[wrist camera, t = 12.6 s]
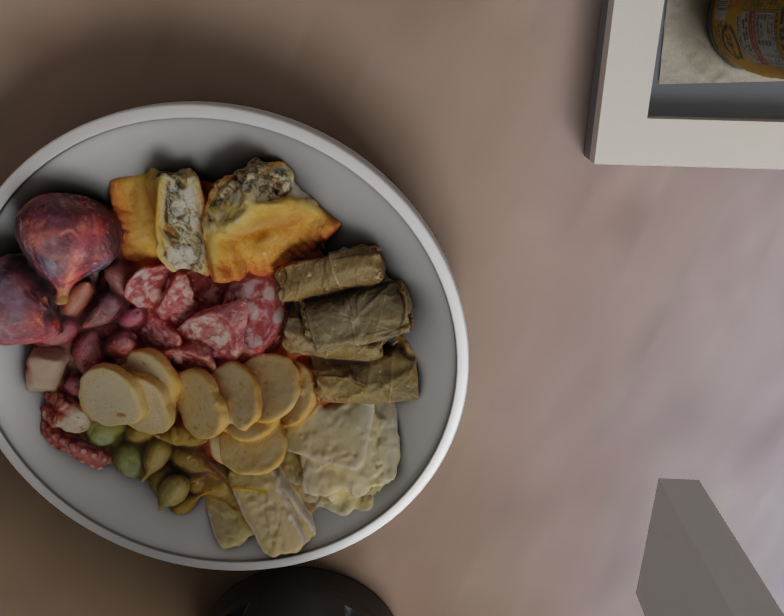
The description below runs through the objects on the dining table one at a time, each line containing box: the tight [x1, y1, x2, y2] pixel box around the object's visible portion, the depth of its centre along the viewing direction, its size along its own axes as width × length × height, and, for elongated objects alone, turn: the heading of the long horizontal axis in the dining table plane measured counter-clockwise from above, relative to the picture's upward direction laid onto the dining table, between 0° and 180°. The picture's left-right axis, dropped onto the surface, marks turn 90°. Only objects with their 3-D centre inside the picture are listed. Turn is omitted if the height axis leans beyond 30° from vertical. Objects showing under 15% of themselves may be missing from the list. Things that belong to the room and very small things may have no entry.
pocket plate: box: [584, 0, 784, 169], centre depth 39 cm, size 16×16×3 cm
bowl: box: [0, 101, 469, 571], centre depth 45 cm, size 30×30×8 cm
